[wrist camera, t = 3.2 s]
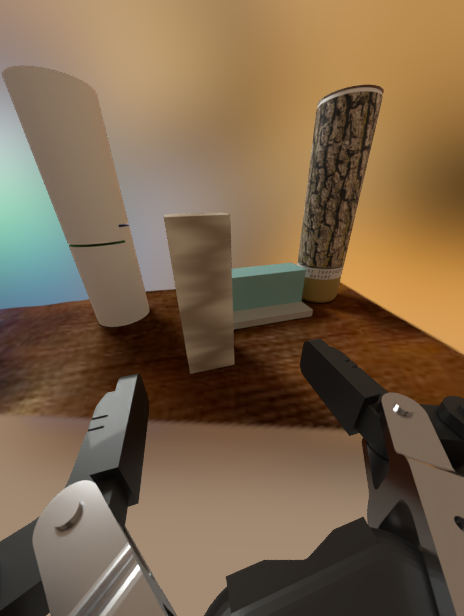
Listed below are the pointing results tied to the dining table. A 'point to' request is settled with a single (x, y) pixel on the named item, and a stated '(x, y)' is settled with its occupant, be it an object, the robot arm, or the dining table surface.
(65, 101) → the cylindrical container
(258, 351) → the dining table surface
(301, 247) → the bark log cylinder
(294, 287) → the stand
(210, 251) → the ash post
